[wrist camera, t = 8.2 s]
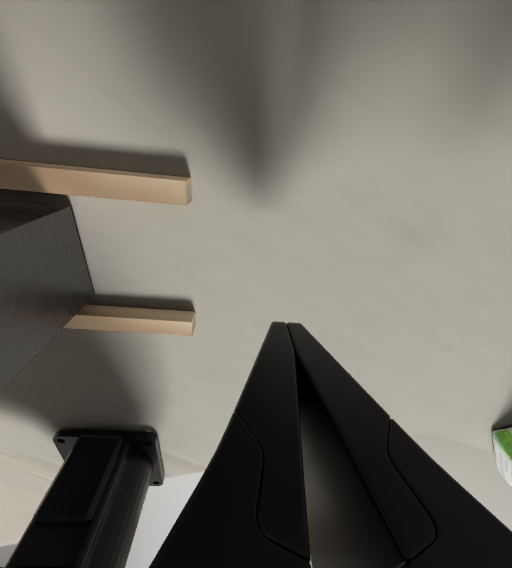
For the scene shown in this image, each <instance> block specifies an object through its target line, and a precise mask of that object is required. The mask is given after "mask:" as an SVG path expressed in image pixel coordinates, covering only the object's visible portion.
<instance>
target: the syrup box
mask: <svg viewBox="0 0 512 568" xmlns="http://www.w3.org/2000/svg"><path fill="white" fill-rule="evenodd" d="M492 435H493V444H494V453H495V458H496V466H497V468H498V469H499V471H500V472H501V474H502V475H503V476H504V478H505V479H506V481H507V482H508V483H509V484H510V486H511V487H512V427H510V428H506V429H500V430H495V431H493V432H492Z"/></svg>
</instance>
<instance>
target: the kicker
mask: <svg viewBox="0 0 512 568" xmlns="http://www.w3.org/2000/svg"><path fill="white" fill-rule="evenodd" d="M93 297H94V292H93V289H92V285H91V281H90V277H89V274H88V270H87V266H86V262H85V259H84V255H83V251H82V248H81V244H80V240H79V236H78V233H77V229H76V225H75V221H74V218H73V214H72V210H71V206H62V205H50V204H39V203H28V202H16V201H5V200H0V392H1V391H2V390H3V389H4V388H5V387H6V386H7V385H8V384H9V383H10V382H11V381H12V380H13V379H14V378H15V377H16V376H17V375H18V374H19V373H20V371H21V370H22V369H23V368H24V367H25V366H26V365H27V364H28V363H29V362H30V361H31V360H32V359H33V358H34V357H35V356H36V355H37V354H38V353H39V352H40V351H41V350H42V349H43V348H44V347H45V346H46V345H47V344H48V343H49V342H50V341H51V340H52V339H53V338H54V337H55V336H56V335H57V334H58V333H59V332H60V330H61V329H62V328H63V327H64V326H65V325H66V324H67V323H68V322H69V321H70V320H71V319H72V318H73V317H74V316H75V315H76V314H77V313H78V312H79V311H80V310H81V309H82V308H83V307H84V306H85V305H86V304H87V303H88V302H89V301H90V300H91V299H92V298H93Z"/></svg>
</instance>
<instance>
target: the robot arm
mask: <svg viewBox="0 0 512 568" xmlns="http://www.w3.org/2000/svg"><path fill="white" fill-rule="evenodd" d="M53 442H54V443H55V445H56V447H57V449H58V451H59V453H60V454H61V456H62V458H63V460H64V463H63V465H62V467H61V468H60V470H59V472H58V474H57V475H56V477H55V479H54V481H53V482H52V484H51V486H50V488H49V489H48V491H47V493H46V494H45V496H44V498H43V500H42V501H41V503H40V505H39V507H38V508H37V510H36V512H35V514H34V516H33V519H32V520H31V522H30V524H29V526H28V527H27V529H26V531H25V533H24V534H23V536H22V538H21V540H20V541H19V543H18V545H17V547H16V548H15V550H14V552H13V554H12V555H11V557H10V559H9V561H8V563H7V564H6V566H5V568H125V566H126V562H127V558H128V555H129V552H130V548H131V545H132V542H133V538H134V535H135V531H136V528H137V524H138V521H139V518H140V514H141V511H142V507H143V504H144V501H145V497H146V493H147V490H148V487H149V486H160V485H162V484H163V481H164V472H163V466H162V461H161V455H160V449H159V444H158V438H157V436H156V435H154V434H149V433H123V432H96V431H69V430H60V431H58V432H57V433H56V435H55V436H54V438H53ZM310 555H311V561H312V566H313V568H512V531H510V530H509V529H508V528H507V527H506V526H505V525H504V524H503V523H502V522H500V521H499V520H498V519H497V518H496V517H495V516H494V515H493V514H492V513H491V512H490V511H488V510H487V509H486V508H485V507H484V506H483V505H482V504H481V503H479V501H477V500H476V499H475V498H474V497H473V496H472V495H471V494H470V493H469V492H468V491H466V490H465V489H464V488H463V487H462V486H461V485H460V484H459V483H458V482H457V481H456V480H455V479H453V478H452V477H451V476H450V475H449V474H448V473H447V472H446V471H445V470H444V469H443V468H442V467H441V466H440V465H438V464H437V463H436V462H435V461H434V460H433V459H432V458H431V457H430V456H429V455H428V454H427V453H426V452H425V451H424V450H423V449H422V448H421V447H420V446H419V445H418V444H417V443H416V442H415V441H414V440H413V439H412V438H411V437H410V436H409V435H408V434H407V433H406V432H405V431H404V430H403V429H402V428H401V427H400V426H399V425H398V424H397V423H396V422H395V421H394V420H393V419H390V416H389V415H388V414H387V412H386V411H385V410H384V409H383V408H382V407H381V406H380V405H379V404H378V403H377V402H376V401H375V400H374V399H373V398H372V397H371V396H370V395H369V394H368V393H367V392H366V391H365V390H364V389H363V388H362V387H361V386H360V384H359V383H358V382H357V381H356V380H355V379H354V378H353V377H352V376H351V375H350V374H349V373H348V372H347V371H346V370H345V369H344V368H343V367H342V366H341V365H340V364H339V363H338V362H337V361H336V360H335V359H334V358H333V356H332V355H331V354H330V353H329V352H328V351H327V350H326V349H325V348H324V347H323V346H322V345H321V344H320V343H319V342H318V341H317V340H316V339H315V338H314V337H313V336H312V335H311V334H310V333H309V332H308V331H307V330H306V329H305V327H304V326H303V325H302V324H300V323H290V322H289V323H287V324H286V323H285V322H272V323H271V326H270V328H269V330H268V333H267V335H266V337H265V340H264V342H263V344H262V347H261V349H260V351H259V354H258V356H257V358H256V361H255V363H254V366H253V368H252V370H251V373H250V375H249V377H248V380H247V382H246V384H245V387H244V389H243V391H242V394H241V396H240V398H239V401H238V403H237V405H236V408H235V410H234V413H233V414H232V417H231V419H230V421H229V424H228V426H227V428H226V430H225V433H224V435H223V437H222V439H221V441H220V443H219V445H218V447H217V450H216V452H215V454H214V455H213V457H212V459H211V461H210V463H209V465H208V466H207V468H206V470H205V472H204V474H203V476H202V477H201V479H200V481H199V483H198V485H197V486H196V488H195V490H194V491H193V493H192V495H191V497H190V498H189V500H188V502H187V503H186V505H185V507H184V509H183V510H182V512H181V514H180V515H179V517H178V519H177V520H176V522H175V524H174V526H173V527H172V529H171V531H170V533H169V534H168V536H167V538H166V539H165V541H164V543H163V544H162V546H161V548H160V550H159V551H158V553H157V555H156V557H155V558H154V560H153V561H152V563H151V565H150V566H149V568H311V566H310V564H309V562H310ZM0 568H2V567H0Z"/></svg>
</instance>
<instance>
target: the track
mask: <svg viewBox="0 0 512 568" xmlns="http://www.w3.org/2000/svg"><path fill="white" fill-rule="evenodd" d="M0 189H11V190H22V191H33V192H44V193H55V194H66V195H77V196H88V197H99V198H110V199H121V200H132V201H143V202H154V203H165V204H176V205H188V204H189V203H190V201H191V178H189V177H179V176H168V175H158V174H148V173H137V172H127V171H117V170H107V169H96V168H86V167H76V166H66V165H55V164H45V163H35V162H25V161H14V160H4V159H0ZM63 328H72V329H89V330H105V331H122V332H139V333H155V334H172V335H189V336H192V335H193V331H194V328H195V312H192V311H177V310H162V309H147V308H131V307H116V306H101V305H85V306H84V307H83V308H82V309H81V310H80V311H79V312H78V313H77V314H76V315H75V316H74V317H73V318H72V319H71V320H70V321H69V322H68V323H67V324H66V325H65V326H64V327H63Z"/></svg>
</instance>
